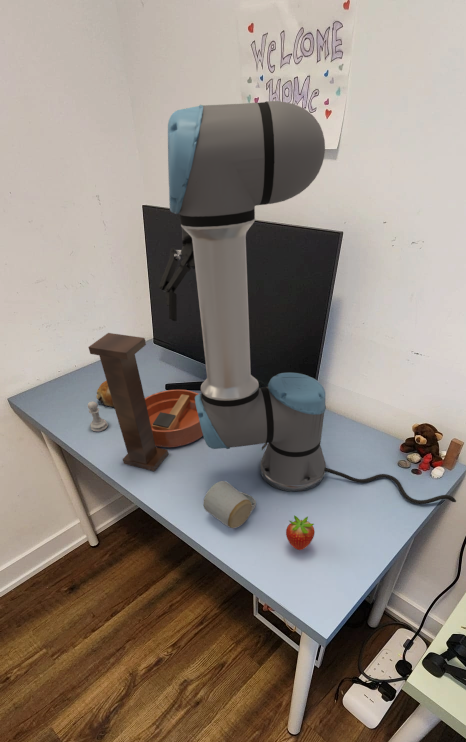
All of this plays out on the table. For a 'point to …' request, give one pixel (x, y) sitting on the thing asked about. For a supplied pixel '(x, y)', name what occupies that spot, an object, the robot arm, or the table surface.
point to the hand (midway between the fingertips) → (197, 318)
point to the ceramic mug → (228, 504)
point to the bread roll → (104, 394)
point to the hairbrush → (171, 415)
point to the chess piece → (96, 418)
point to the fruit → (300, 533)
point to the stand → (129, 398)
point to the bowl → (187, 420)
